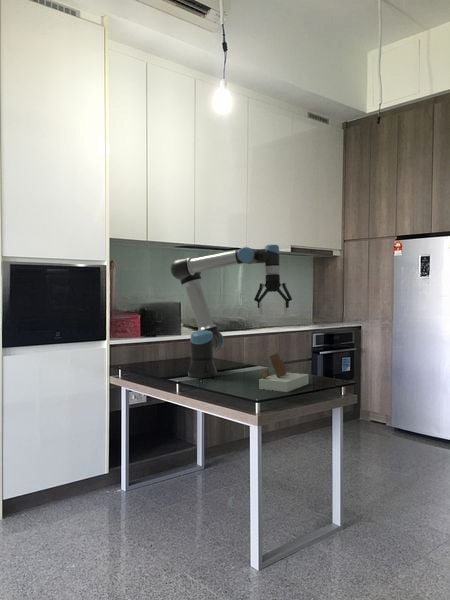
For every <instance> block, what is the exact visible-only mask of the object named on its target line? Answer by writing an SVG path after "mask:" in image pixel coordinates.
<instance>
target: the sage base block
mask: <svg viewBox="0 0 450 600" xmlns="http://www.w3.org/2000/svg"><path fill="white" fill-rule="evenodd" d="M258 383H259V384H258V389H259V390H263V389H265V391H272V390H273V392H283V393H289V392H291V391H294V390H296V389H299V388H301V387H304V386H307V385H309V374H307V373H296V372H295V373H294V372H286V374H285V375H283V376H280V377H277V376H276V373H274V374H272V375H271V374H270V376H268V377H266V378H262V377H261V378H259V379H258Z"/></svg>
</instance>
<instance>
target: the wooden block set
mask: <svg viewBox="0 0 450 600" xmlns="http://www.w3.org/2000/svg"><path fill="white" fill-rule="evenodd" d="M269 359H270V363H271V365H272V367H273V369H274V372H275V373H274V374H276V376H277V377H280V376H283V375H285V374H286V373H288V370H287V367H286V365H285V362H284V359H281V358H280V356H279V353H275V354H271V355H270V356H269ZM268 376H271V374H270V372H269V369H268V368H265V369H263V370H261V379H262V378H266V377H268Z"/></svg>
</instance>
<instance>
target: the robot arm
mask: <svg viewBox="0 0 450 600" xmlns="http://www.w3.org/2000/svg"><path fill="white" fill-rule="evenodd" d="M242 264H244V265H245V264H246V265H252V264H253V265H254V264H256V265H257V264H264V265H265V267H264V268H265V275H264V276H265V283H259V287H258V290H257V292H256V294H255V297H254V299H253V300H254V302H256V303H257V309H258V311H259V315H263V302H262V301H263V299H264V298H265V296H266V295H267V294H268V293H271V292H274V293H276V292H277V293H278V294H279V295H280V296H281V297H282V298H283V300H284V303H283V304H284V305H283V308H284V309H283V310H284V312H283V314H284V315H288V308H289V307H290V304H289V303H290V301H292V300H293V297H292V296H291V294H290V292H289V289H288V288H287V283H286V282H282V283H281V280H280V278H281V275H280V274H281V271H280V270H281V269H280V266H281V265H280V246H279V245H278V244H266V245H265V246H264V248H262V249H261V248H258V249H256V248H255V249H254V248H252V247H248V246H244V247H241V248H239V249H234V250H230V251H224V252H219V253H214V254H208V255H204V256H200V257H196V258H195V257H193V258H192V257H190V256H189V257H185V258H177V259H175V260H174V261H173V262H172V263H171V266H170V272H171V275H172V276H173V278H174V279H176V280H179V281H180V284H181V286H182V287H183V288H185V290H186V294H187V297H188V300H189V303H190V306H191V309H192V313H193V315H194V318H195V322H196V324H197V328H198V329H197V330H196V331H193V332H192V333H191V334H190V338H189V339H190V363H189V364H190V365H189V368H188V372H187V376H188V377H189V378H193V379H194V378H195V379H206V378H214V377H216V376H218V374H217V373H218V371H217V367H216V366H215V362H214V353H216V352H218V351H219V350H221V349H222V347H223V346H224V342H225V341H224V336H223V334H222V332H220V331H219V329H218V326H217V325H216V324H214V323H213V319H212V317H211V313H210V310H209V306H208V304H207V301H206V298H205V295H204V291H203V289H202V285H201V282H202V281H203V279H202V276H201V274H202V272H205V271H211V270H216V269H220V268H222V269H223V268H226V267H232V266H236V265H242ZM280 287H281V288H282V289H283V291H284V292H285V294H286V295H285V294H284V292H283V291H282V290H281V288H280ZM263 288H266V289H264V291H263ZM262 292H263V293H262ZM261 293H262V294H261Z"/></svg>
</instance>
